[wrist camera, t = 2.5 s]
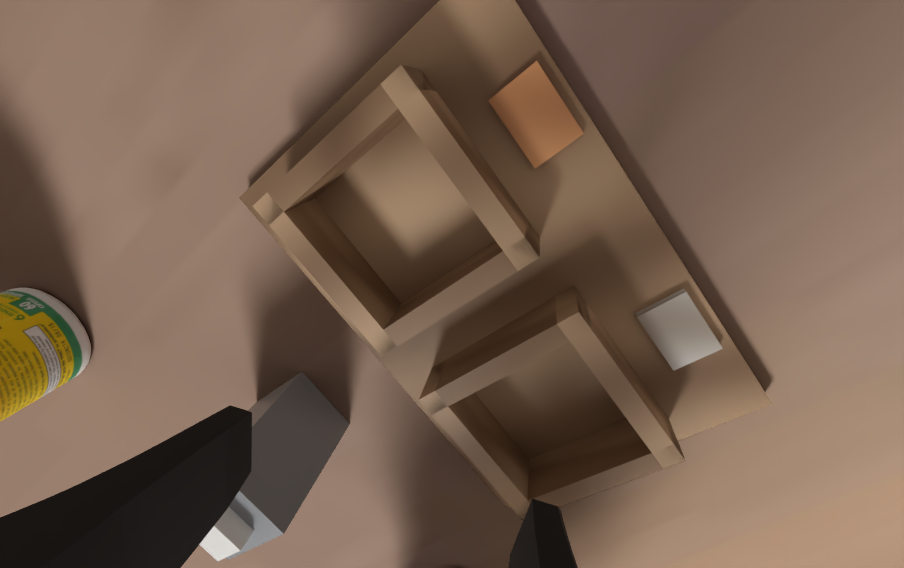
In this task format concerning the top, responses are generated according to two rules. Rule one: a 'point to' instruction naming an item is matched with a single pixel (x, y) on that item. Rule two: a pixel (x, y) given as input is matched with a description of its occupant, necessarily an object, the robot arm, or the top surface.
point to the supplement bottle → (37, 347)
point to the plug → (278, 466)
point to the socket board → (504, 263)
